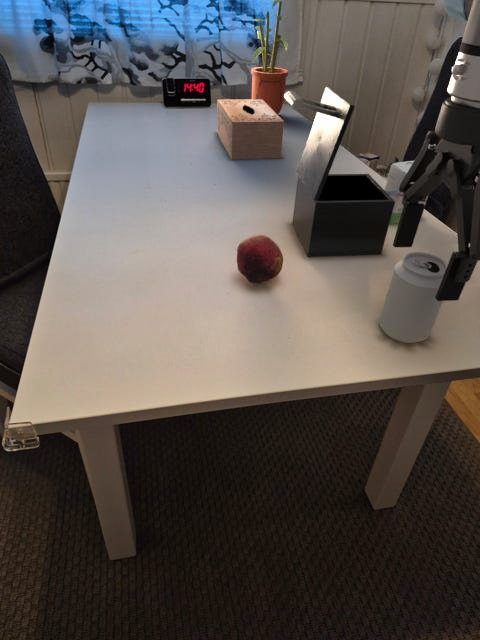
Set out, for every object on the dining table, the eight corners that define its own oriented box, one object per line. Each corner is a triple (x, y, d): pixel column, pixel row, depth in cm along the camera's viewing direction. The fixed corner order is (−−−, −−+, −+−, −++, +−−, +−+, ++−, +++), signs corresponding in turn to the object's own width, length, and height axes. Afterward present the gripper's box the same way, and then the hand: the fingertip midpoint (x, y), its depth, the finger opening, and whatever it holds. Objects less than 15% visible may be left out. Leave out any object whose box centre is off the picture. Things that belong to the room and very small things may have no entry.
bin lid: (330, 87, 79) (284, 74, 76) (355, 106, 68) (303, 91, 66) (300, 172, 88) (258, 162, 85) (318, 200, 77) (271, 190, 75)
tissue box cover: (280, 158, 128) (284, 121, 121) (231, 159, 125) (232, 122, 119) (260, 132, 147) (262, 99, 141) (217, 133, 145) (217, 99, 139)
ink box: (406, 210, 102) (421, 158, 95) (422, 219, 99) (438, 166, 91) (376, 215, 99) (389, 162, 92) (391, 225, 96) (406, 171, 89)
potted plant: (291, 116, 165) (303, 0, 143) (264, 123, 156) (272, 1, 134) (256, 107, 174) (262, -3, 153) (228, 113, 165) (230, -3, 144)
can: (432, 350, 64) (461, 280, 57) (379, 342, 65) (400, 273, 58) (424, 318, 70) (449, 251, 63) (376, 312, 71) (395, 245, 63)
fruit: (283, 272, 79) (288, 231, 74) (276, 296, 73) (281, 253, 68) (241, 265, 80) (242, 225, 76) (230, 288, 75) (232, 246, 70)
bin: (357, 223, 96) (368, 173, 89) (381, 254, 86) (395, 201, 79) (292, 224, 94) (298, 174, 88) (307, 257, 84) (315, 202, 77)
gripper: (401, 77, 57) (364, 228, 70) (521, 134, 37) (440, 329, 51) (455, 79, 58) (409, 228, 71) (600, 135, 38) (500, 326, 52)
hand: (422, 270), depth 61 cm, fingers open, 13 cm apart
